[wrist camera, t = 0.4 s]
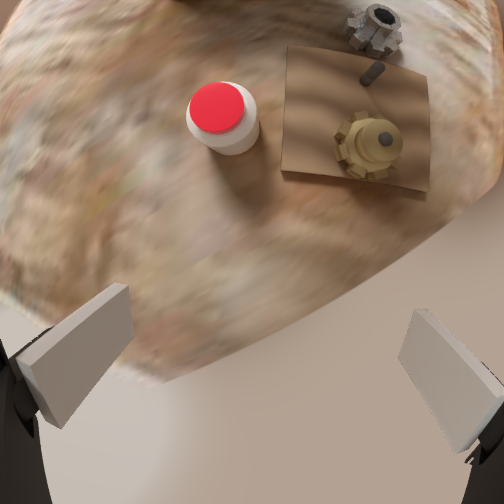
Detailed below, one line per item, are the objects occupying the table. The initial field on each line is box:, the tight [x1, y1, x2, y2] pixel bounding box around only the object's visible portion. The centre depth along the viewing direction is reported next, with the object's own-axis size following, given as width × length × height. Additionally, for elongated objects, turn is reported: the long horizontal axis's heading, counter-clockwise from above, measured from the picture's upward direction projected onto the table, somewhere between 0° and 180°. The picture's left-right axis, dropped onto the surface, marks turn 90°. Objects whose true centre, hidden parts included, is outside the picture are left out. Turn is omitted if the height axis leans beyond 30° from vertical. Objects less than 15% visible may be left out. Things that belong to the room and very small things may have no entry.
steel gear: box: [343, 4, 402, 59], centre depth 25 cm, size 9×9×7 cm
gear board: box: [281, 44, 430, 192], centre depth 28 cm, size 19×22×9 cm
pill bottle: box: [186, 82, 260, 156], centre depth 29 cm, size 8×8×11 cm
